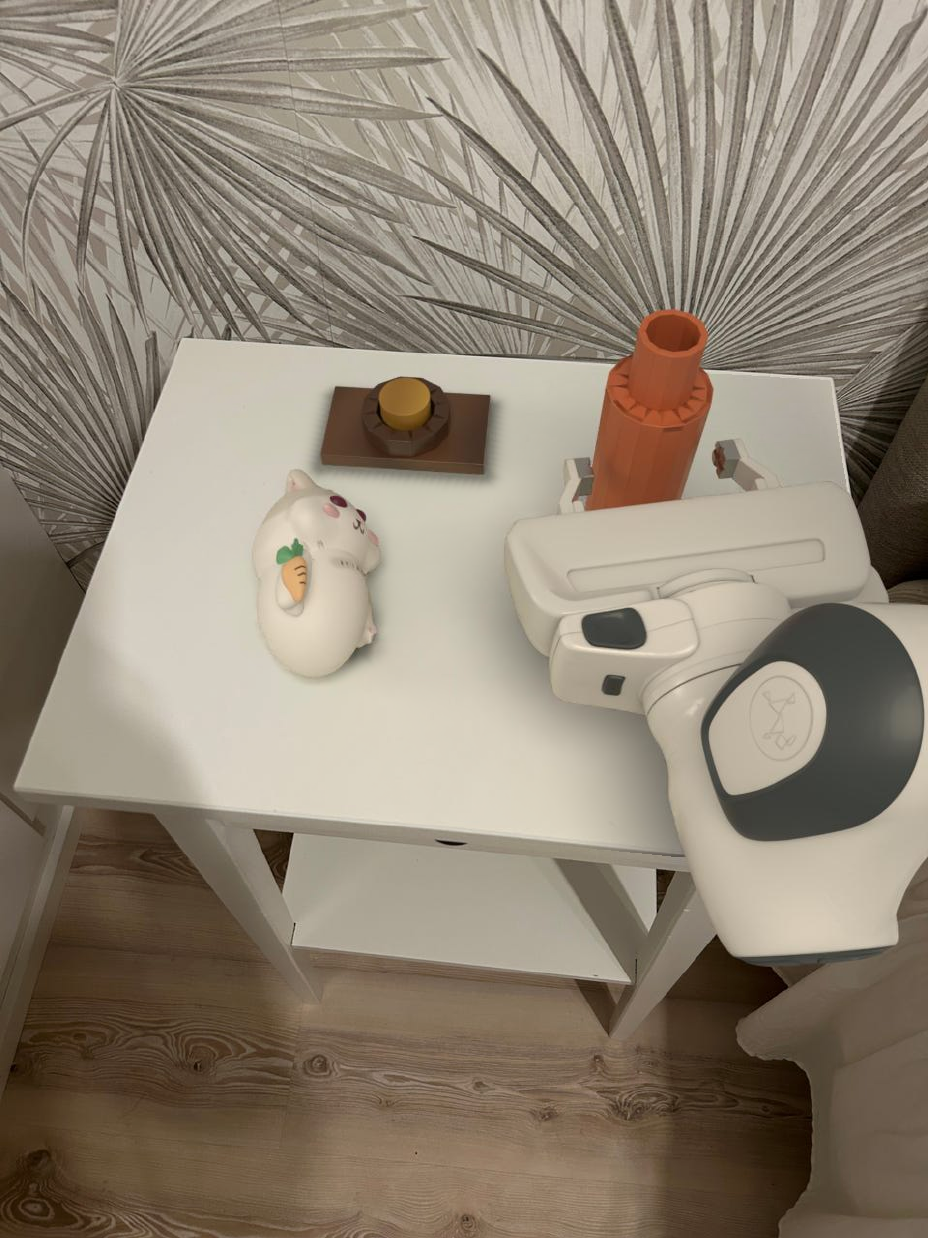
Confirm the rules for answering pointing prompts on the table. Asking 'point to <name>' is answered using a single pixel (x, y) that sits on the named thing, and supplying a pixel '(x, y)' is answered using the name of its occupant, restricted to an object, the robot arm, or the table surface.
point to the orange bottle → (652, 414)
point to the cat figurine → (314, 578)
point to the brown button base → (407, 432)
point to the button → (405, 404)
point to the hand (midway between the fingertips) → (650, 455)
